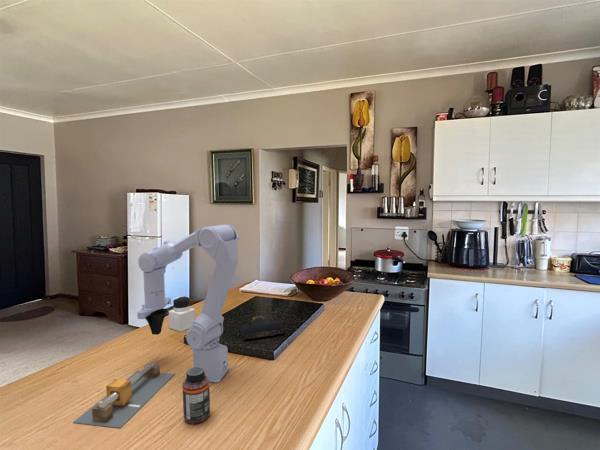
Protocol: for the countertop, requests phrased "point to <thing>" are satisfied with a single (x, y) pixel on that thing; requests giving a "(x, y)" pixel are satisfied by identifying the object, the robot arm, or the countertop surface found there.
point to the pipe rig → (141, 391)
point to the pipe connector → (261, 325)
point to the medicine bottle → (181, 314)
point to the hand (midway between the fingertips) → (156, 333)
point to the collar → (124, 390)
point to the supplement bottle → (196, 396)
